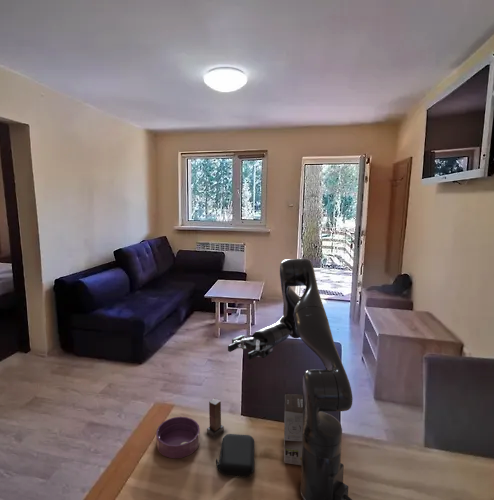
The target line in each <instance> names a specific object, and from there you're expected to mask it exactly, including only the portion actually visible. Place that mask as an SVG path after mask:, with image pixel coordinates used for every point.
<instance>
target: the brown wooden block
mask: <svg viewBox="0 0 494 500" xmlns="http://www.w3.org/2000/svg"><path fill="white" fill-rule="evenodd" d="M208 407H209V408H208V412H209V418H208V419H209V427H207V428H206V433H207V434H208V435H210V436H211V437H212V438H216V437H217V436H218V435H220V434H221V433H222V432H224V429H225V427H224V425H222V401H221V400H219V399H218V398H216V397H215V398H213V399H211V400H210V401H208Z"/></svg>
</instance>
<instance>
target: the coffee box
mask: <svg viewBox="0 0 494 500" xmlns="http://www.w3.org/2000/svg"><path fill="white" fill-rule="evenodd" d="M283 422H284V426H283V427H284V430H283V431H284V432H283V463H284V464H290V465H296V466H301V464H302V431H303V396H302V394H295V393H294V394H292V393H285V395H284V421H283Z"/></svg>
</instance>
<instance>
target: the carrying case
mask: <svg viewBox="0 0 494 500" xmlns="http://www.w3.org/2000/svg"><path fill="white" fill-rule="evenodd" d="M215 466H216V469H217V471H219V473H220V474H222V475H223V476H227V477H237V478H238V477H239V478H249V477H251V476H252V475H253V474H254V472H255V438H254V437H253V436H252V435H250V434H239V433H227V434H225V435H224V436H223V437H222V440H221V446H220V453H219V458H217V457H216V458H215Z"/></svg>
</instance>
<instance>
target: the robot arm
mask: <svg viewBox="0 0 494 500" xmlns="http://www.w3.org/2000/svg"><path fill="white" fill-rule="evenodd" d="M279 280H280V288H281V295H282V302H283V303H282V305H283V307H282V309H283V310H282V315H281V317H280V318H279V319H278V321H276V323H273V324H271V325H268V326H265V327H263V328H261V329H259V330H256V331H254V333H252V335H251V336H250V337H245V334H241V335H239V336H238V335H237V336H236V337H233V338H232V339H231V343H230V344H228V345H227V352H229V353H231V352H233V351H236V350H237V349H241V350H250V351H249V352H248V353H247V354H246V359H247V360H248V361H249V360H253V359H255V358H262V359H265V358H267V357H268V356H270V355H271V354H273V353H274V352H273V351H274V347H276V346H278V345H279V344H280V343H283V342H284V341H286V340H288V338H289V337H291V338H293V339H300V340H301V341H302V342H303V343H304V344H305V345H306V346H307V347H308V348H309V349H310V350H311V351H312V352H313V353H314V354H315V355H316V356H317V357H318V358H319V359H320V361H321V362H322V364H323V366H324V368H325V369H307V370H305V371H304V372H303V375H302V379H301V380H302V381H301V390H302V391H301V393H302V394H301V395H302V396H303V431H302V464H301V465H300V466H301V467H300V488H299V489H300V491H299V493H300V496H301V498H302V500H353V499H352V498H351V497H349V485H347V484H346V483H344V468H345V466H344V464H343V463H342V443H343V441H342V440H343V427H342V424H341V422H340V421H339V419H337V418H336V417H335V416H333V415H332V414H330V413H327V412H347V411H349V410H350V409H351V408H352V406H353V399H354V398H353V391H352V387H351V383H350V380H349V378H348V375H347V372H346V368H345V367H344V365H343V362H342V359H341V357H340V354H339V351H338V349H337V347H336V344H335V340H334V337H333V334H332V330H331V326H330V323H329V319H328V315H327V313H326V310H325V307H324V304H323V301H322V298H321V295H320V291H319V287H318V282H317V278H316V273H315V268H314V265H313V263H312V261H311V259H309V258H303V257H302V258H287V259H283V260H282V261H281V262H280V264H279ZM292 287H305V289H304V291H303V294H302V295H301V296H299V295H298V294H297V293H296V292H295V291H294V290H293V289H292ZM244 343H245V345H244Z"/></svg>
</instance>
